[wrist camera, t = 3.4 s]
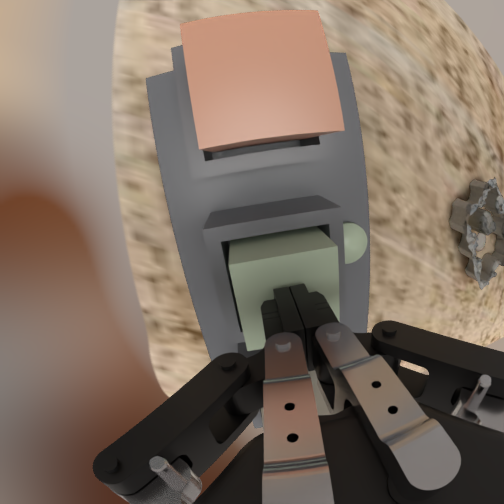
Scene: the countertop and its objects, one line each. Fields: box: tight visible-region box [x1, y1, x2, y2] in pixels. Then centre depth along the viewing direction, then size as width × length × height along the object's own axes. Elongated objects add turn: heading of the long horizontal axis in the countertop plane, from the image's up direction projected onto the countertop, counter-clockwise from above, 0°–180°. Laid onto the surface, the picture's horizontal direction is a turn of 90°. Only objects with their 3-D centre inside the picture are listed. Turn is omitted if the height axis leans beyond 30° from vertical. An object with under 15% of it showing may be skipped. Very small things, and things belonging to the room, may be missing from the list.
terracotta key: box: [180, 10, 345, 152], centre depth 10 cm, size 5×5×6 cm
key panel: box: [146, 45, 370, 428], centre depth 18 cm, size 14×28×6 cm, turn 9°
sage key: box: [228, 226, 340, 351], centre depth 16 cm, size 5×5×6 cm
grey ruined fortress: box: [449, 177, 504, 289], centre depth 20 cm, size 11×8×4 cm
